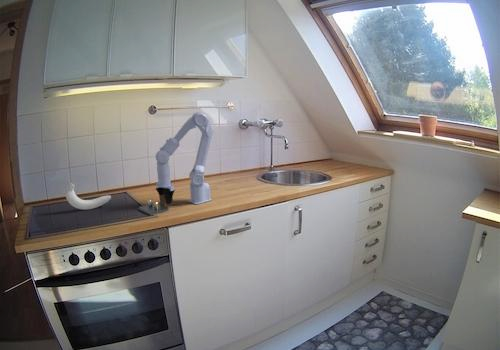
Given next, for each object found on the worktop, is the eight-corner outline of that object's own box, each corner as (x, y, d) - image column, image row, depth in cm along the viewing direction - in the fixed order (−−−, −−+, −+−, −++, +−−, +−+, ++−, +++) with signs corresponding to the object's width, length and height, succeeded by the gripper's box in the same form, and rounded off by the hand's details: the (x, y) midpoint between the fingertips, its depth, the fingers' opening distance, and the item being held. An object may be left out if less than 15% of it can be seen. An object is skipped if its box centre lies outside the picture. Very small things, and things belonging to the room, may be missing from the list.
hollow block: (168, 203, 163) (167, 193, 162) (173, 204, 160) (172, 195, 159) (160, 205, 160) (159, 195, 159) (164, 207, 157) (163, 197, 155)
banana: (112, 206, 160) (109, 177, 157) (69, 214, 151) (64, 184, 147) (110, 203, 164) (107, 175, 161) (68, 211, 155) (63, 181, 151)
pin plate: (156, 205, 160) (155, 196, 159) (168, 210, 152) (167, 201, 151) (138, 209, 154) (137, 200, 153) (150, 215, 146) (149, 206, 145)
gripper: (149, 174, 159) (151, 201, 162) (163, 179, 149) (166, 207, 152) (162, 172, 164) (164, 198, 167) (177, 176, 153) (179, 203, 156)
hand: (166, 202), depth 159 cm, fingers closed on hollow block, 5 cm apart
